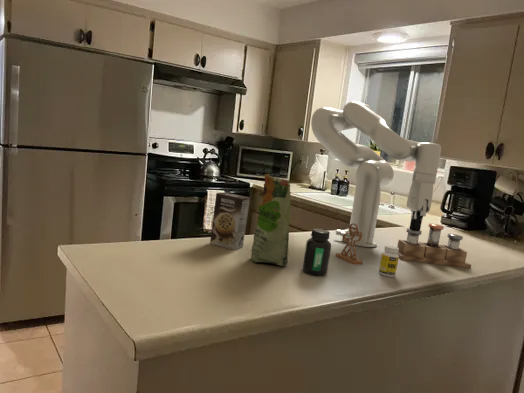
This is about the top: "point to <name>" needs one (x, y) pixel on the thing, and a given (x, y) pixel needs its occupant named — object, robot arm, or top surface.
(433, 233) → the plug mid
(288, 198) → the pouch
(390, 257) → the supplement bottle
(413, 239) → the plug
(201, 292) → the top surface
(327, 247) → the supplement bottle
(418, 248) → the socket board
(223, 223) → the coffee box
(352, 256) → the tan toy soldier
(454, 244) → the plug
